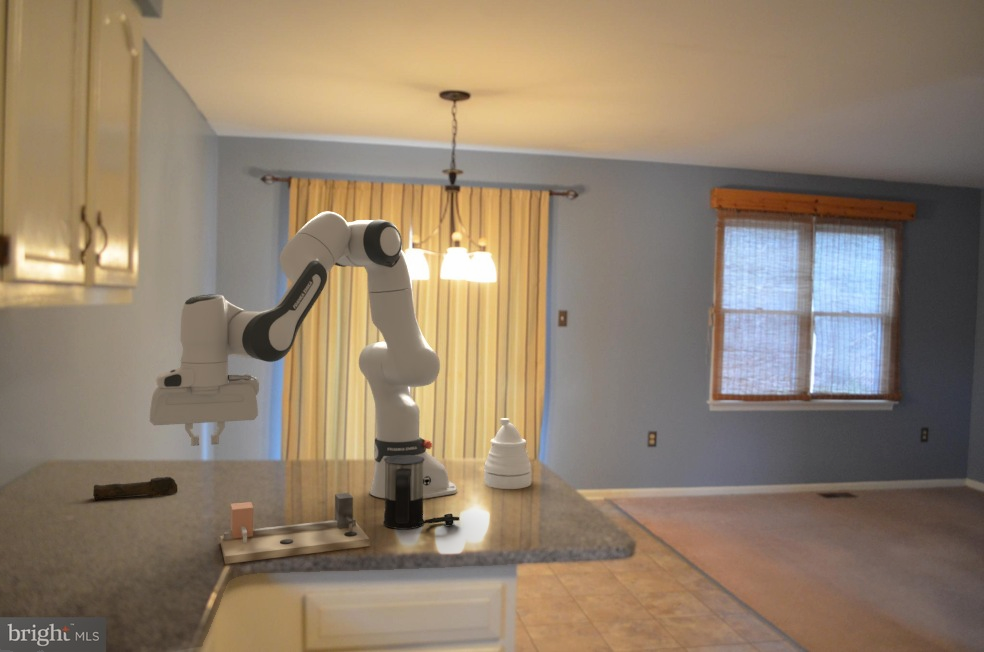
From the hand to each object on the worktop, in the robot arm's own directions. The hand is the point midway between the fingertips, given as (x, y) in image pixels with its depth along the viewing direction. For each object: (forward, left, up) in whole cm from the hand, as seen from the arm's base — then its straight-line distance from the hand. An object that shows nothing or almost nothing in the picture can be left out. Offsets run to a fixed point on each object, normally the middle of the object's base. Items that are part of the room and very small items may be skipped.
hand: (205, 444), depth 151 cm
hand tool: (+14, -47, -22) cm, 54 cm away
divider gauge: (-17, +4, -21) cm, 27 cm away
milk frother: (-45, +1, -21) cm, 50 cm away
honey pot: (-79, -26, -21) cm, 86 cm away
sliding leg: (-7, +2, -19) cm, 21 cm away
